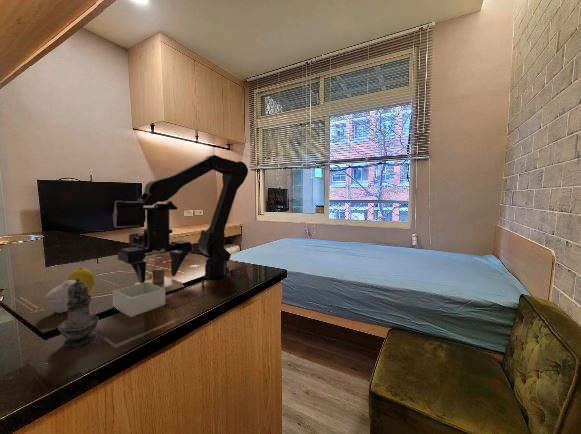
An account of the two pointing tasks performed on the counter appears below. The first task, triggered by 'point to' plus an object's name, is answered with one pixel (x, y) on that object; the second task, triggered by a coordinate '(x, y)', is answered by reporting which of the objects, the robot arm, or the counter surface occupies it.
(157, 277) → the lid
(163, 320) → the counter surface
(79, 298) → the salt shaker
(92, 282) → the lemon
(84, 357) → the counter surface
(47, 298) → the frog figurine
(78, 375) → the counter surface
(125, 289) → the dish
